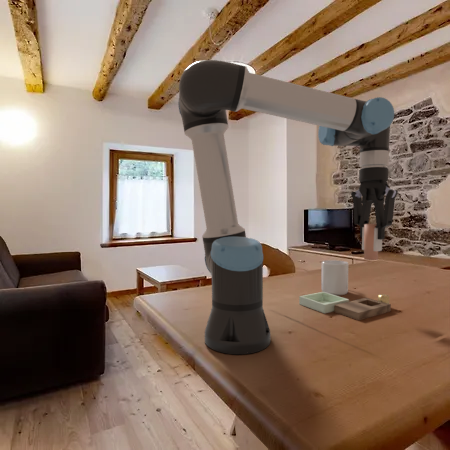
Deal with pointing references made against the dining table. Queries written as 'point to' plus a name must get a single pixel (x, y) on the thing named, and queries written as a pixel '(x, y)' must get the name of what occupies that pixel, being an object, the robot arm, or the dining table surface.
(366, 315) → the wooden block with recess
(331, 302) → the tray
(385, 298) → the bench dog
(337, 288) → the mug
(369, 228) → the pink tapered rounded cylinder
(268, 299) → the dining table surface
